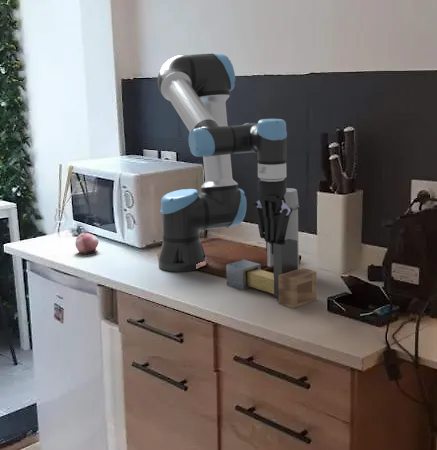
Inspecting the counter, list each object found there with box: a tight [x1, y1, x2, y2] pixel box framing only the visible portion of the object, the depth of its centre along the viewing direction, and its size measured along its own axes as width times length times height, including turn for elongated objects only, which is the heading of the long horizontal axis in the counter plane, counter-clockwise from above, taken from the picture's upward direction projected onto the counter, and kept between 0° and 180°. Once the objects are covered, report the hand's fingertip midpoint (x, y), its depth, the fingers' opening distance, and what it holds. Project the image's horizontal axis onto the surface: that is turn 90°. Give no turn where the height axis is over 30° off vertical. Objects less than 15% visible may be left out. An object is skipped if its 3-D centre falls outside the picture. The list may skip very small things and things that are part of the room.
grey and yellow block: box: [245, 239, 299, 298], centre depth 194 cm, size 21×6×14 cm, turn 40°
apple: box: [74, 232, 99, 255], centre depth 244 cm, size 8×8×7 cm
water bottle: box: [284, 187, 300, 269], centre depth 212 cm, size 9×8×25 cm
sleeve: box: [225, 259, 262, 291], centre depth 204 cm, size 7×7×6 cm
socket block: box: [278, 267, 318, 309], centre depth 188 cm, size 5×9×8 cm, turn 130°
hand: (272, 265), depth 193 cm, fingers closed
